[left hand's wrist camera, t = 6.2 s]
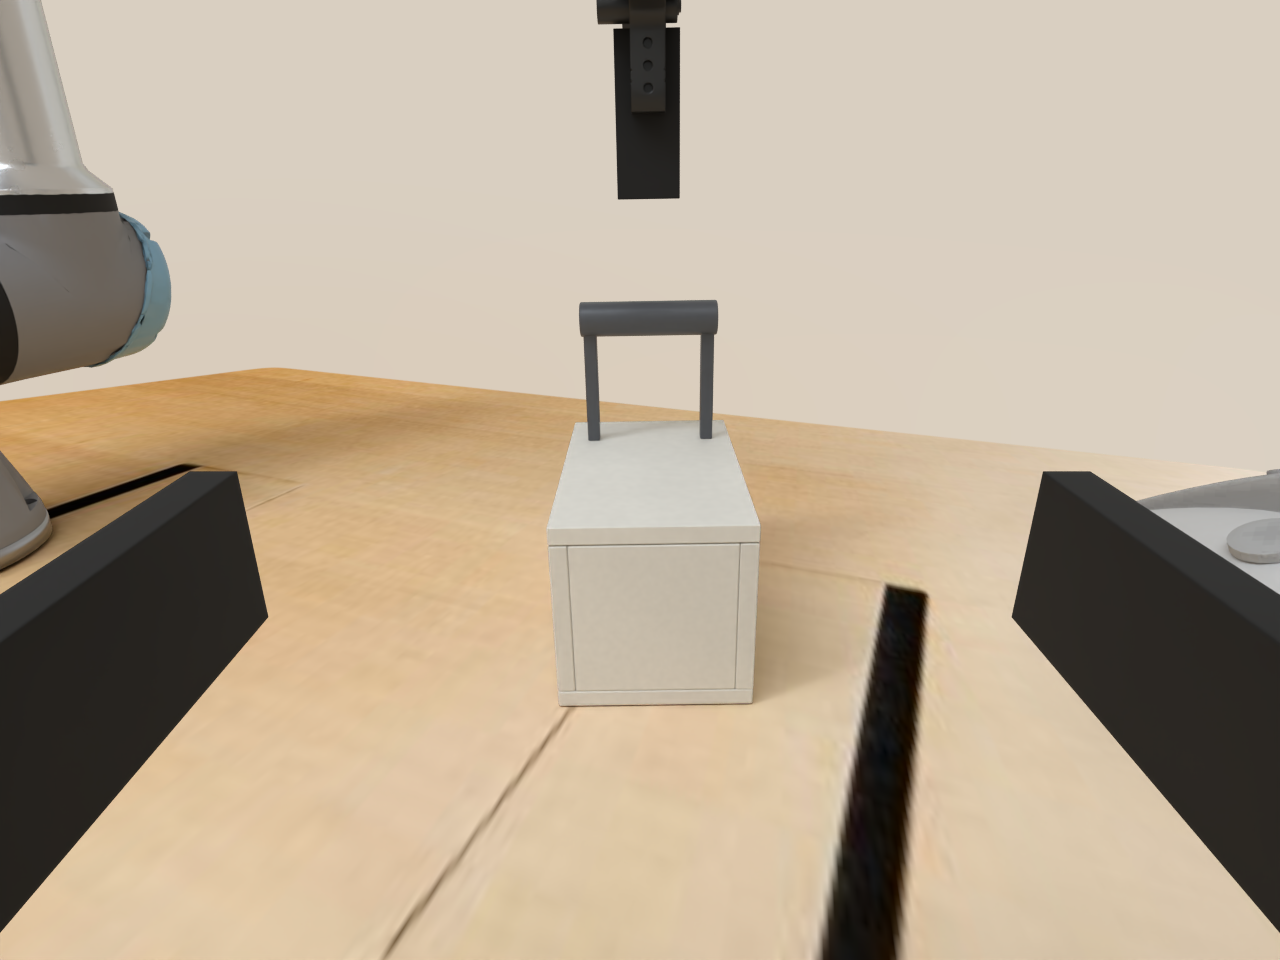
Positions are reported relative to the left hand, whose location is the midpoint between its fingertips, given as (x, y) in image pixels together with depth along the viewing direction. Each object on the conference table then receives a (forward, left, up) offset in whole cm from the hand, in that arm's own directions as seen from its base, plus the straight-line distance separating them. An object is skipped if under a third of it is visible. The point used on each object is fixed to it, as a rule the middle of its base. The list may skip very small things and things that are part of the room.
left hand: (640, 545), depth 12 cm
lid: (+22, -14, -9) cm, 28 cm away
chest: (+22, -14, -18) cm, 32 cm away
